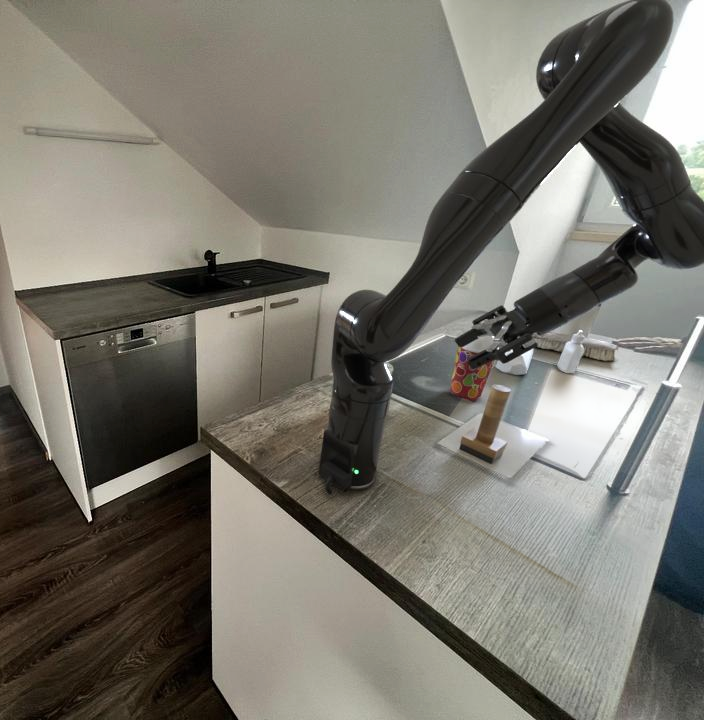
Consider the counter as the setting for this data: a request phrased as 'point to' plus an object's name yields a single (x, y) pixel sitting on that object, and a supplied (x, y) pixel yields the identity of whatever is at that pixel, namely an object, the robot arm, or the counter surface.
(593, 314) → the travel mug
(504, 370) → the crystal
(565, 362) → the eye dropper bottle
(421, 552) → the counter surface
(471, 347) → the smoothie
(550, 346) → the shoe brush
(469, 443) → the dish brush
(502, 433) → the tile
